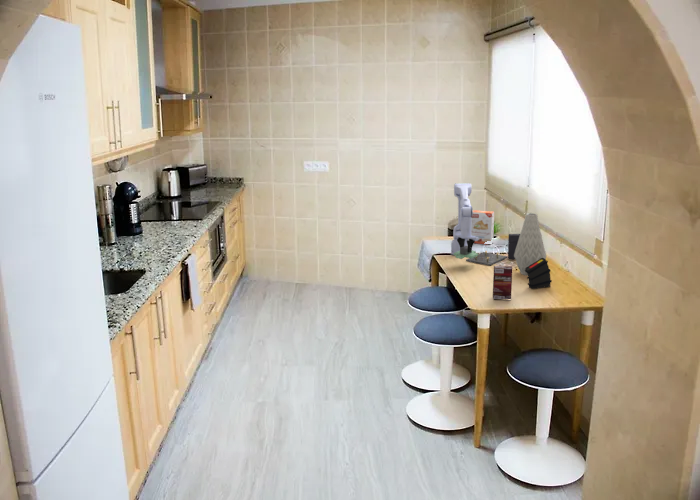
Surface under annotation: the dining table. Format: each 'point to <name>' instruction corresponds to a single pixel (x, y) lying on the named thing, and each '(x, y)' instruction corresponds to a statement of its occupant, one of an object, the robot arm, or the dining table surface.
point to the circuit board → (465, 253)
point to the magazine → (538, 274)
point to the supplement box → (502, 282)
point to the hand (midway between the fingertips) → (465, 251)
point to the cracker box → (482, 226)
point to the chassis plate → (487, 258)
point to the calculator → (512, 245)
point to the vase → (529, 243)
